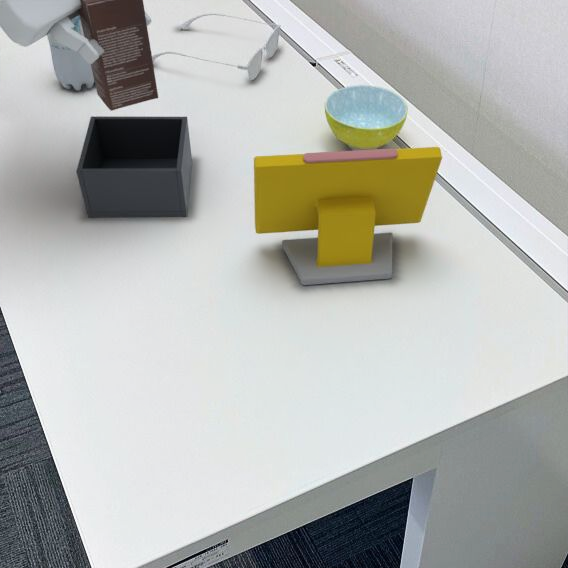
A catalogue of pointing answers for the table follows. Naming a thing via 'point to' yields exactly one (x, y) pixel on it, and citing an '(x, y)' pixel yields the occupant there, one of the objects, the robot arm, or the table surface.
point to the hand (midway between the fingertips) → (122, 42)
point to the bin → (136, 167)
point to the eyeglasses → (255, 60)
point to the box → (120, 51)
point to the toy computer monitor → (342, 207)
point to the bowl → (365, 115)
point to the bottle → (70, 62)
